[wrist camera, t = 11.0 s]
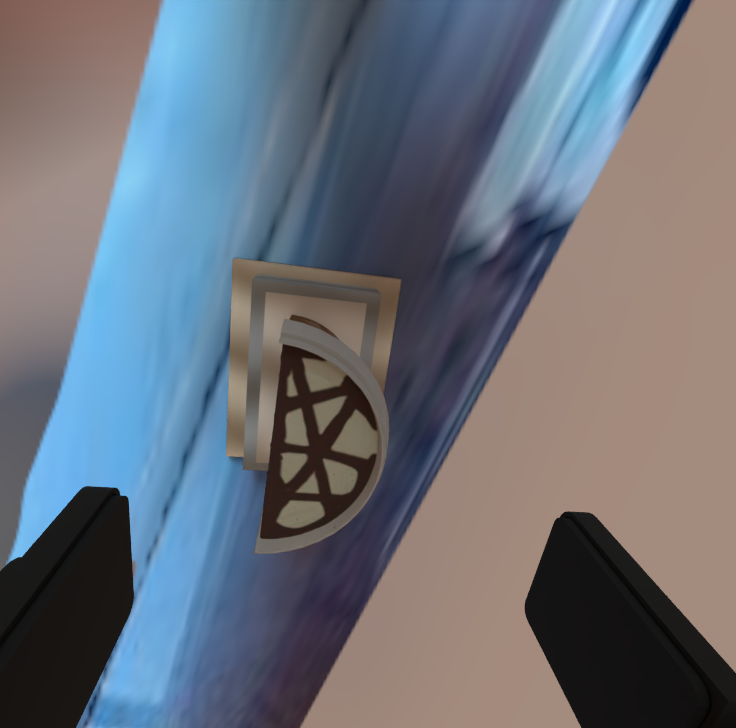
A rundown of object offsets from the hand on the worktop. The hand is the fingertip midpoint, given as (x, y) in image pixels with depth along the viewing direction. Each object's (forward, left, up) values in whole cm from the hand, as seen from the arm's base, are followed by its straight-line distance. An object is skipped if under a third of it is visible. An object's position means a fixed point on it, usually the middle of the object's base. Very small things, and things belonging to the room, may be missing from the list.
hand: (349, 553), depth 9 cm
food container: (+4, 0, -20) cm, 21 cm away
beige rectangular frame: (+4, -1, -24) cm, 24 cm away
